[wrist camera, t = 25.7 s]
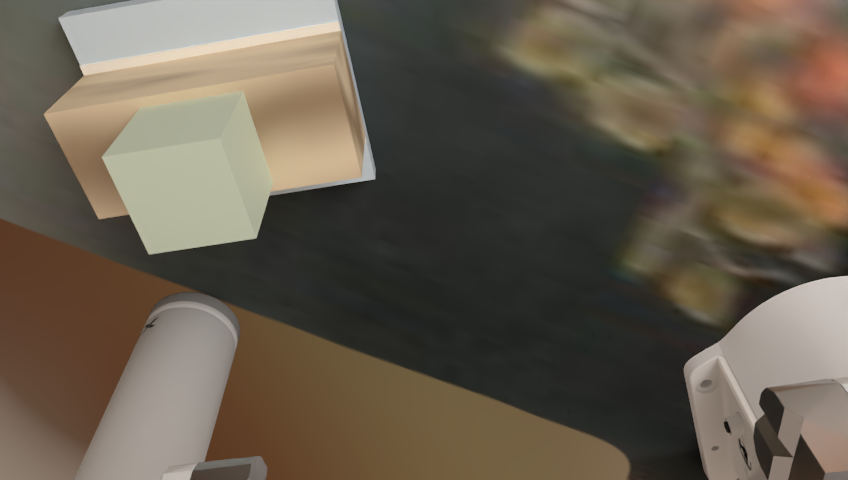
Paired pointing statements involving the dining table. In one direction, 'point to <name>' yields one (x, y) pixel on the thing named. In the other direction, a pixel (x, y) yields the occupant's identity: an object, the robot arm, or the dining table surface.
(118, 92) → the oak brick
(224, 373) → the travel mug
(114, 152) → the sage cube
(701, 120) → the dining table surface
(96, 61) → the shallow white tray
